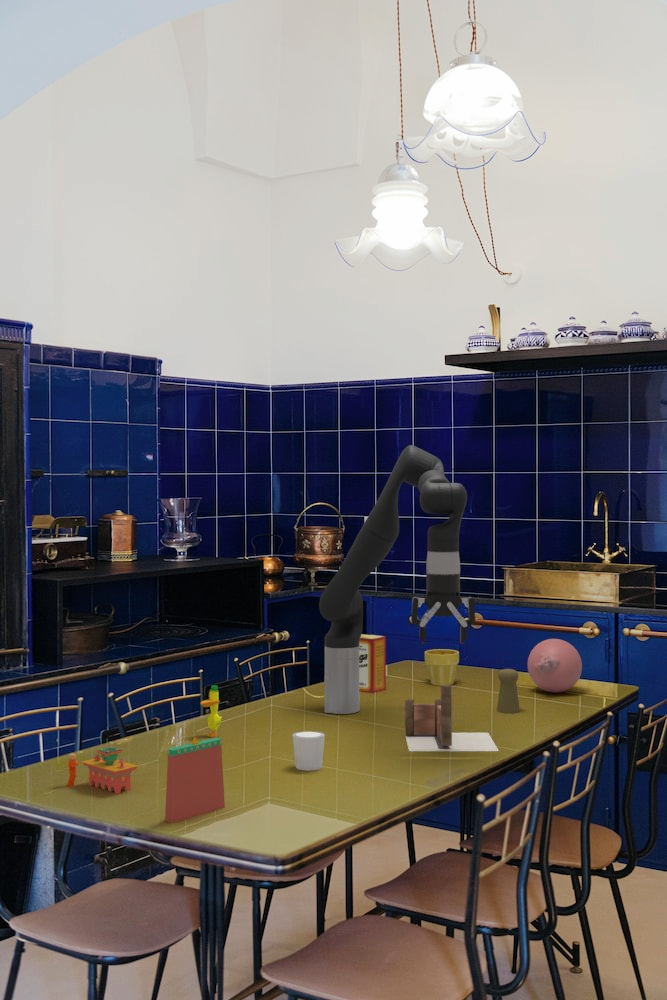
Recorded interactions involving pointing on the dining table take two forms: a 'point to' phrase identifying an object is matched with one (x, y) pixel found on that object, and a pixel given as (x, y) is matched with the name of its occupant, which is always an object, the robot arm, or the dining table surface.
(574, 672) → the pink rubber ball
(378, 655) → the baking soda box
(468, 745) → the card
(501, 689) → the brown tall tapered piece
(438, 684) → the plant pot
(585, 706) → the dining table surface
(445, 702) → the hinged fence panel
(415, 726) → the fence fixed section
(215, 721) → the toy figure
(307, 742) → the white short tapered cylinder
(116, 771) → the toy building block set
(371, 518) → the robot arm
